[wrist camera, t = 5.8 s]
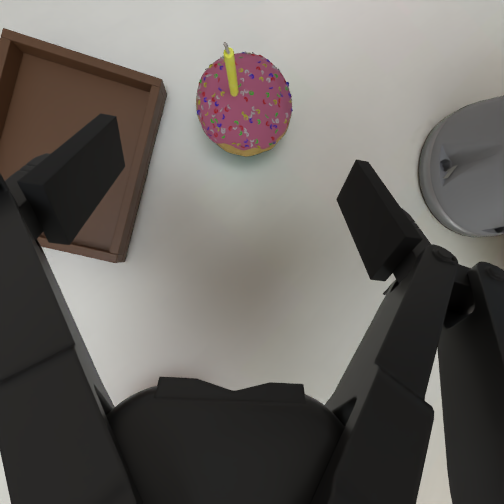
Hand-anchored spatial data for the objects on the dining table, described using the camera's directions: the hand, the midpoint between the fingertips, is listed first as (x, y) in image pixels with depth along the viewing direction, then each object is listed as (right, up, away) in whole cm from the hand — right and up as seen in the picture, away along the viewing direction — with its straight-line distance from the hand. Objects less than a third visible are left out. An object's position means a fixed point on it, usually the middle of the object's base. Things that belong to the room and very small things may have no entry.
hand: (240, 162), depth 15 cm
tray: (-17, +4, +10) cm, 20 cm away
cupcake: (-1, +8, +13) cm, 15 cm away
